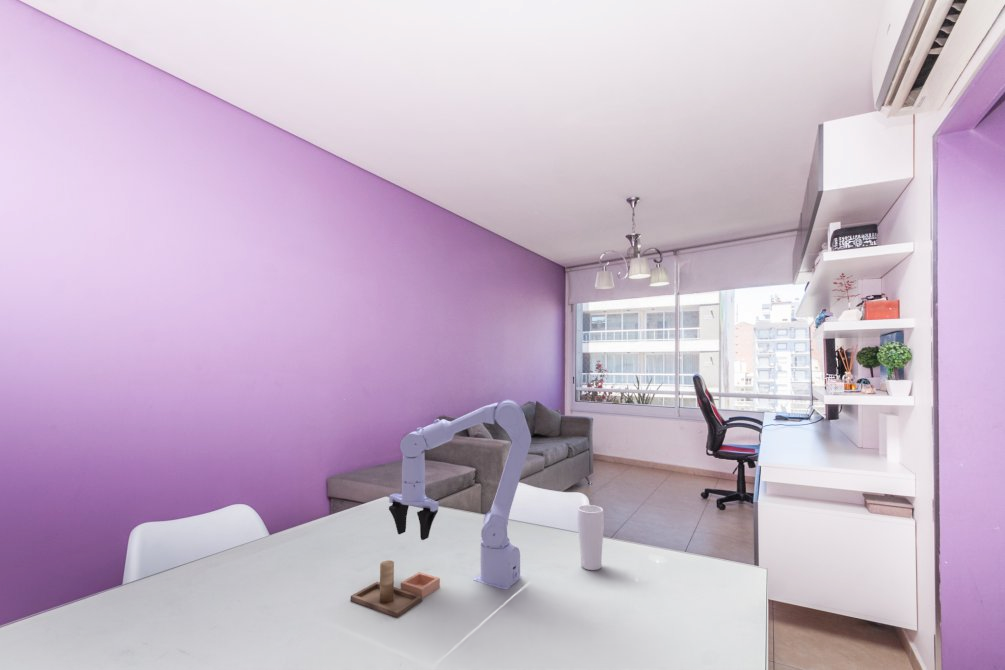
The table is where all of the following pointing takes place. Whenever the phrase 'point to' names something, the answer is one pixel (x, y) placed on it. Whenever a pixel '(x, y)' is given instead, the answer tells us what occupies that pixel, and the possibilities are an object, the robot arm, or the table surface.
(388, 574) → the dowel
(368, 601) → the tray
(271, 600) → the table surface
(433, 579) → the open box
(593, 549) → the drinking glass
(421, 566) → the table surface
